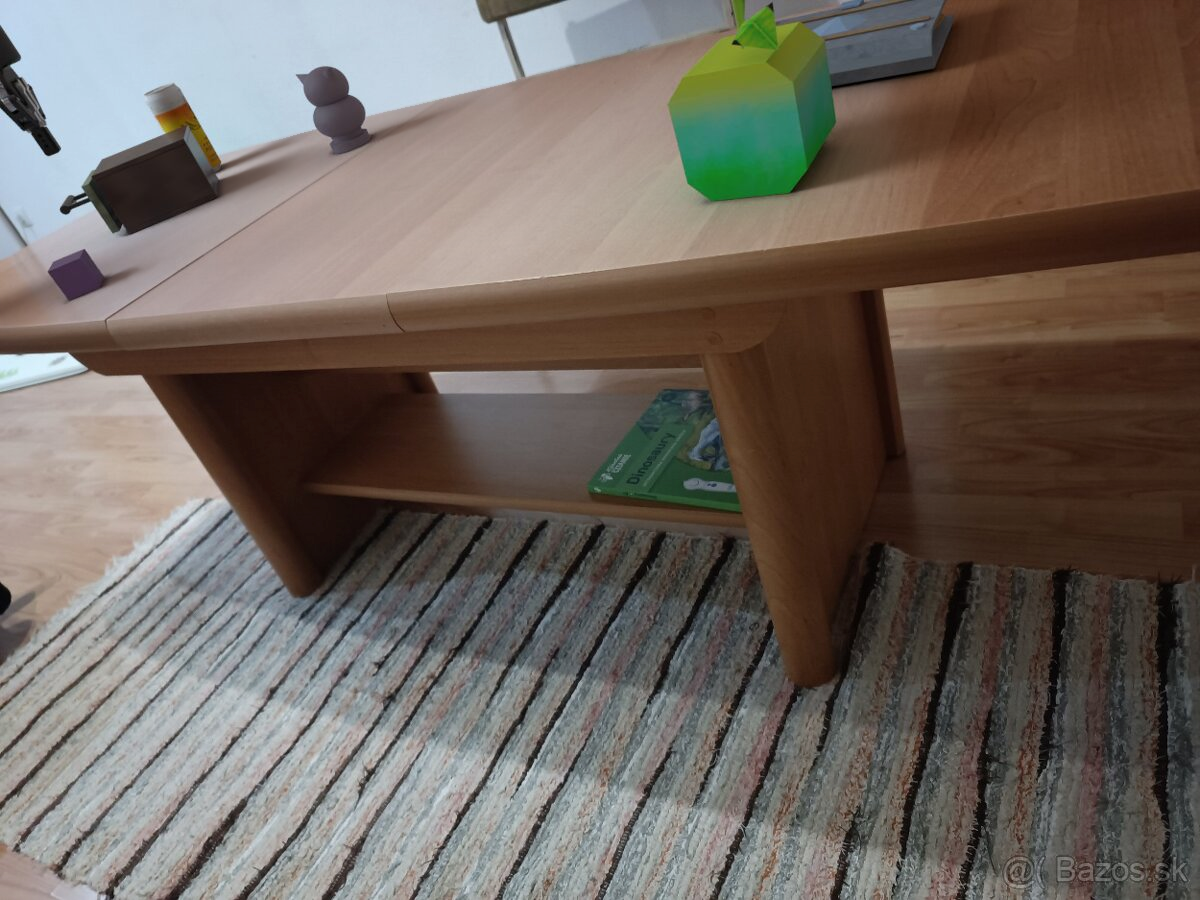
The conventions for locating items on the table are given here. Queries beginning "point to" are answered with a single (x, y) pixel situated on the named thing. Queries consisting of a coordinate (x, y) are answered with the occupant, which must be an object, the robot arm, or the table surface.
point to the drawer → (97, 201)
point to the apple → (754, 109)
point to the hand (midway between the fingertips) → (54, 153)
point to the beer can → (179, 117)
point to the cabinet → (156, 179)
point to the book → (879, 37)
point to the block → (76, 274)
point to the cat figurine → (335, 108)
